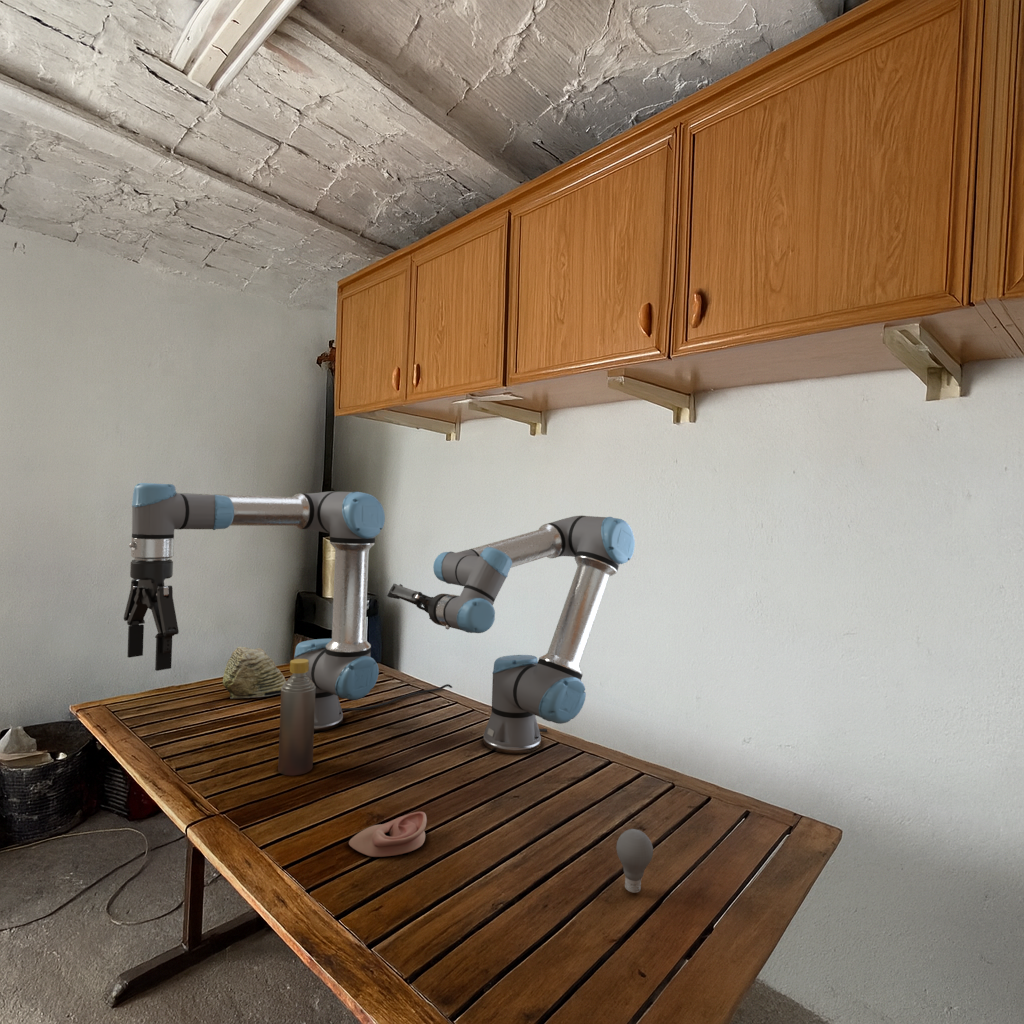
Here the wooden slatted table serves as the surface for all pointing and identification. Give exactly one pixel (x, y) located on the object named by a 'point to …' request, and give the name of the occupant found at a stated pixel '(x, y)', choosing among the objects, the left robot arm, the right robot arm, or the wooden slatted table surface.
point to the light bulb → (634, 857)
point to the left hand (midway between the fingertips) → (148, 662)
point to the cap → (299, 666)
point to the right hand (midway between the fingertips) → (411, 603)
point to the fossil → (252, 674)
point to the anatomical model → (392, 836)
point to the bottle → (296, 725)
